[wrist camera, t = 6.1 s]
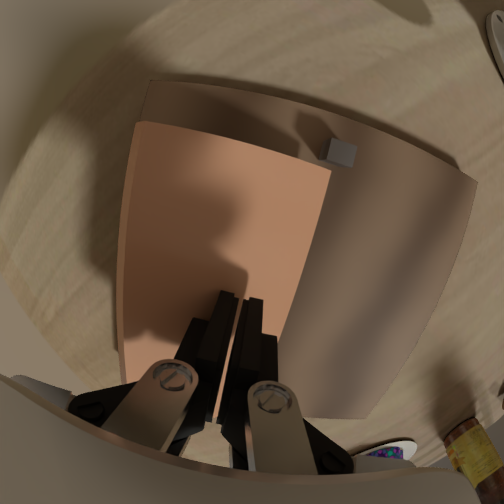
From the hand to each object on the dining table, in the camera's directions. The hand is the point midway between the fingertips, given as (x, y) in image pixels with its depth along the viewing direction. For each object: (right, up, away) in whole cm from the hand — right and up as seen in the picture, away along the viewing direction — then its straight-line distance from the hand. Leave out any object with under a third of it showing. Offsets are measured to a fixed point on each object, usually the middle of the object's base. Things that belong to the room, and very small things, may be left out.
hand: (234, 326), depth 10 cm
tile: (-1, 0, 0) cm, 1 cm away
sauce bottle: (+30, -22, +12) cm, 39 cm away
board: (+3, +1, +6) cm, 7 cm away
